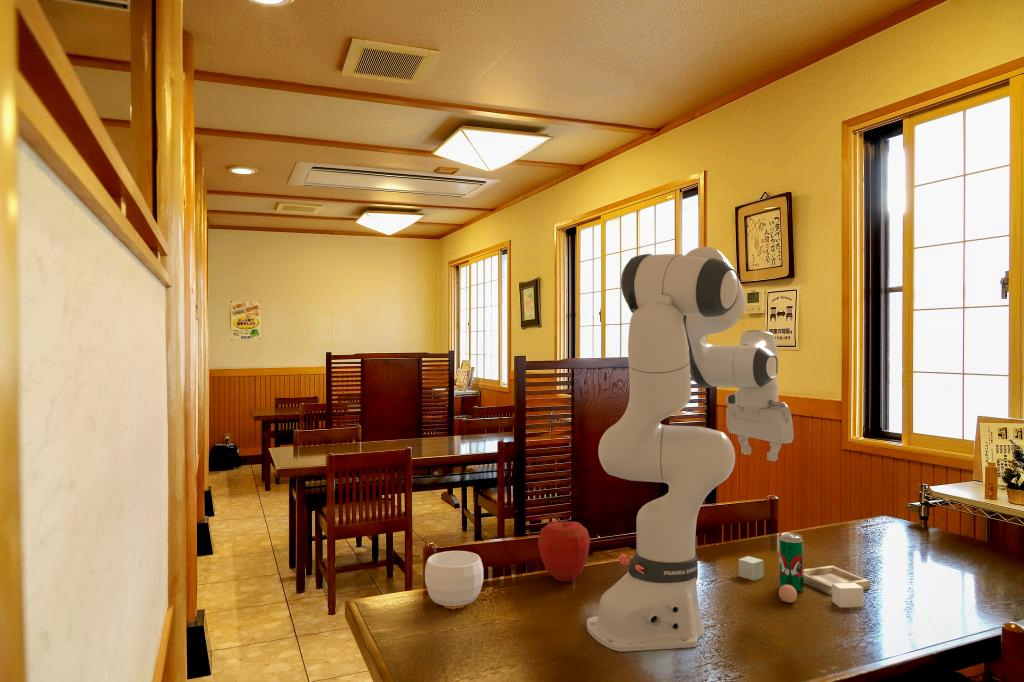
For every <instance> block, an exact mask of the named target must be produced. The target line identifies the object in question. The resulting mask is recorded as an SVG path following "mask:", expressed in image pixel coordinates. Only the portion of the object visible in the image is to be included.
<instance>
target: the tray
mask: <svg viewBox="0 0 1024 682" xmlns="http://www.w3.org/2000/svg"><path fill="white" fill-rule="evenodd" d="M832 583H856V584H858V585H860V586H861V587H863V591H864V590H870V589H871V581H870V580H869V579H866V578H864V577H862V576H860V575H858V574H854V573H851V572H849V571H847V570H845V569H842V568H840V567H837V566H834V565H827V566H819V567H812V568H804V584H806V585H808V586H810V587H812V588H815V589H816V590H819V591H821V592H823V593H825V594H828V595H830V596H832Z"/></svg>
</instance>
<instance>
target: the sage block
mask: <svg viewBox="0 0 1024 682" xmlns="http://www.w3.org/2000/svg"><path fill="white" fill-rule="evenodd" d="M764 563H765V562H764V560H763V559H762V558H761V559H760V558H757V557H753V556H750V555H747V556H744V557H741V558H739V559H738V577H741V578H744V579H747V580H751V581H757V580H759V579H761V578H764V575H765V574H764V573H765V572H764V570H765V569H764V568H765V566H764V565H765V564H764Z"/></svg>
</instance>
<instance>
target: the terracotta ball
mask: <svg viewBox="0 0 1024 682" xmlns="http://www.w3.org/2000/svg"><path fill="white" fill-rule="evenodd" d="M778 595H779V598H780V600H781V601H783V602H784V603H787V604H788V603H793V602H795V601H796V600H797V597H798V592H796V590H795V588H794V587H793V586H791V585H783V586H781V587H780V586H779V589H778Z"/></svg>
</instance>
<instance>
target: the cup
mask: <svg viewBox="0 0 1024 682" xmlns="http://www.w3.org/2000/svg"><path fill="white" fill-rule="evenodd" d="M483 565H484V564H483V562H482V559H481V557H480V556H479V554H477V553H474V552H471V551H466V550H450V551H449V550H448V551H442V552H438V553H434V554H432V555H430V556H429V557H428V558H427V560H426V563H425V568H424V582H425V586H426V590H427V594H428V596H429V598H431V600H432V602H434V603H435V604H437V605H440V606H441V605H443V606H447V607H460V606H464V605H466V604H468V605H469V604H471V603H473V602H474V601H475V600H476V599H477V598H478V596H479V594H480V593H481V591H482V590H481V589H482V586H483V583H484V566H483Z"/></svg>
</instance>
